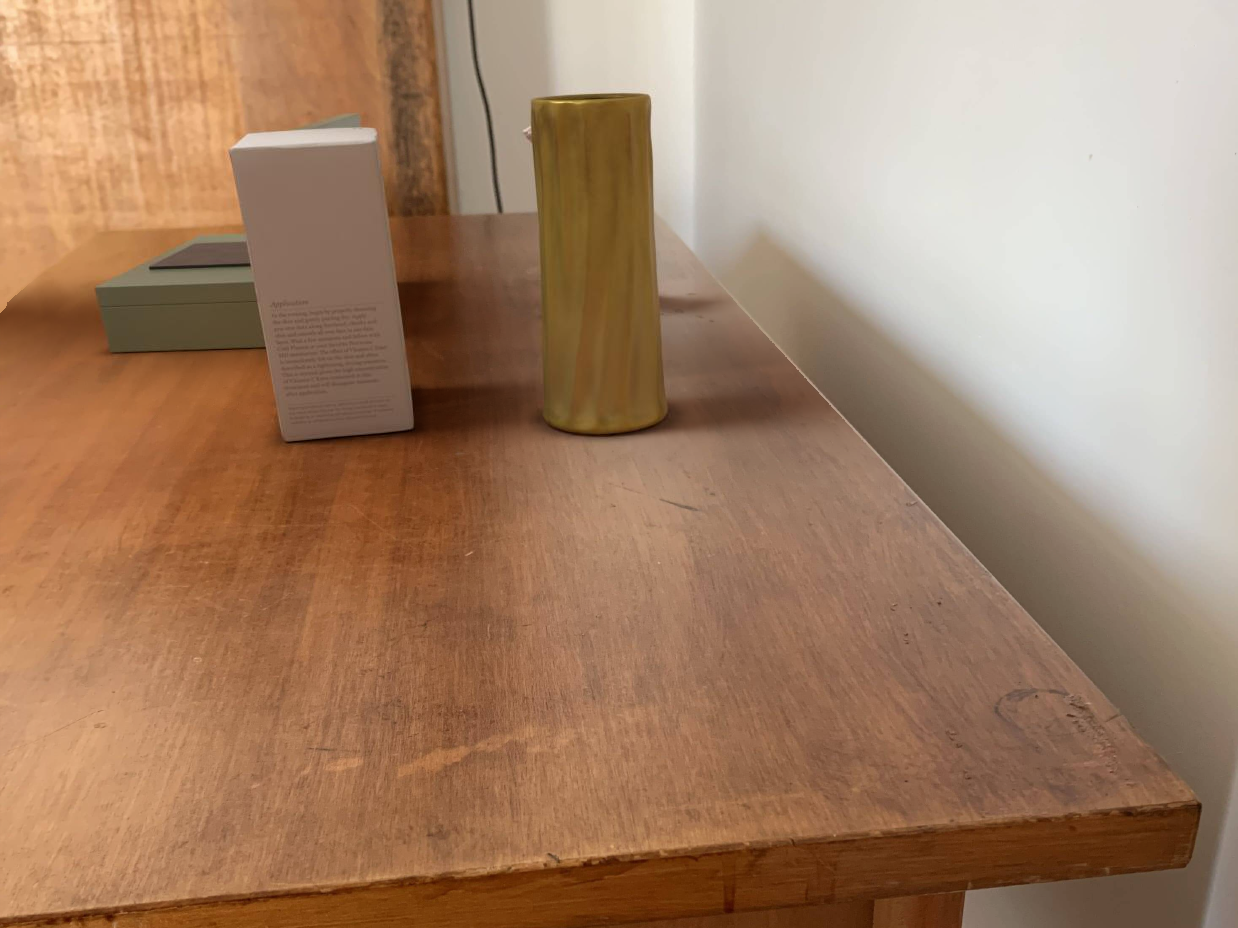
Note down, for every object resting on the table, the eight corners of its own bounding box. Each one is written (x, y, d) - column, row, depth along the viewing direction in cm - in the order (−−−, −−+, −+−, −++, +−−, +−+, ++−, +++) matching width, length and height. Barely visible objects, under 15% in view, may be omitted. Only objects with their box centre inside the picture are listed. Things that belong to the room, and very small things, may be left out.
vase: (518, 417, 58) (492, 99, 51) (614, 392, 61) (602, 91, 54) (594, 444, 53) (577, 102, 47) (693, 416, 57) (690, 93, 50)
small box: (290, 397, 62) (244, 131, 56) (411, 387, 63) (378, 125, 57) (279, 444, 55) (225, 145, 49) (415, 431, 56) (379, 137, 50)
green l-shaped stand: (110, 352, 72) (59, 143, 67) (210, 289, 90) (177, 119, 85) (322, 345, 72) (289, 136, 67) (381, 283, 90) (359, 113, 84)
